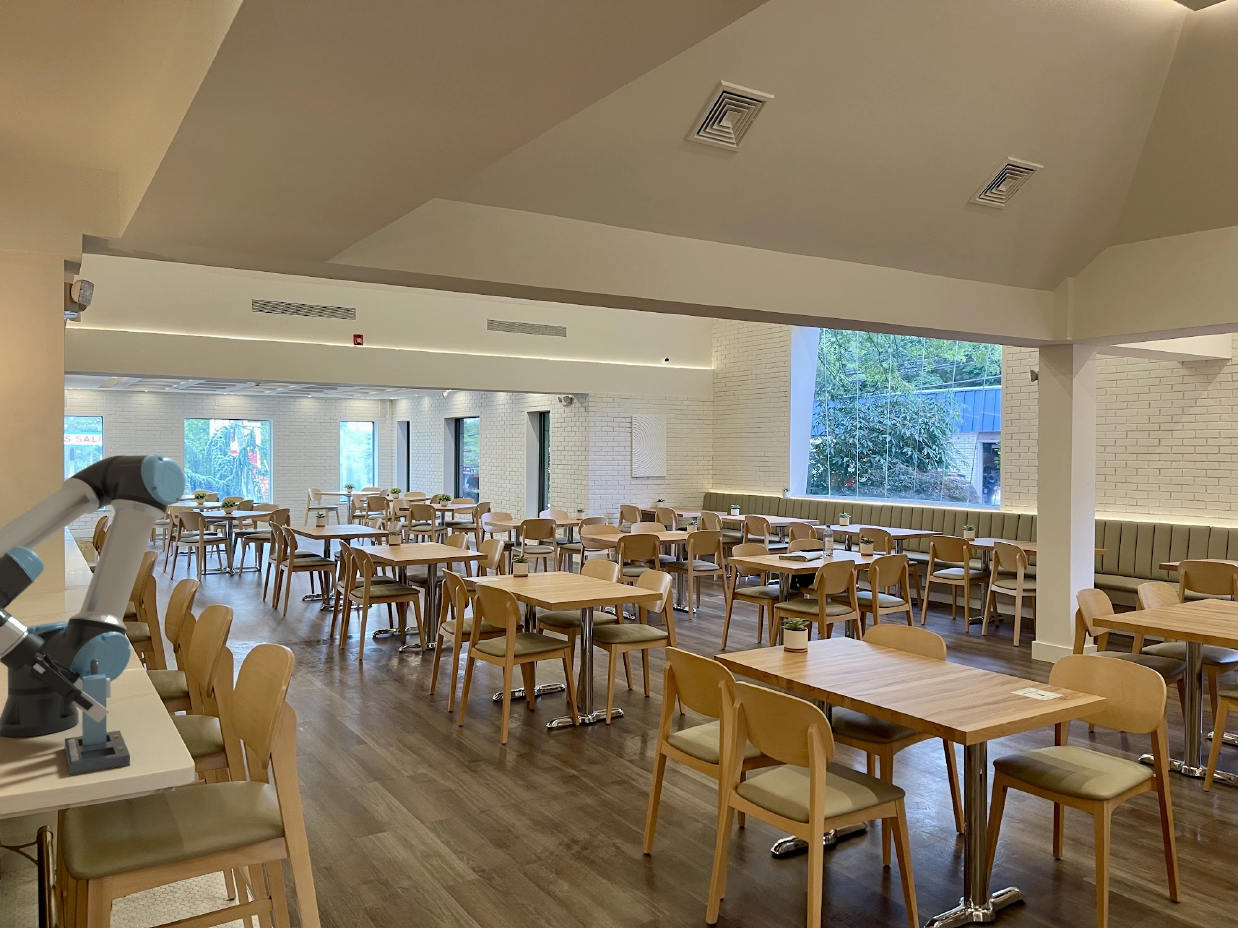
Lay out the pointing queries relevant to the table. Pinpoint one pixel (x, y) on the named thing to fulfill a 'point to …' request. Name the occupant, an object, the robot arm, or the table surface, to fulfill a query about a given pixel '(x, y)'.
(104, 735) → the plug
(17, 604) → the table surface
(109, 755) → the port panel
